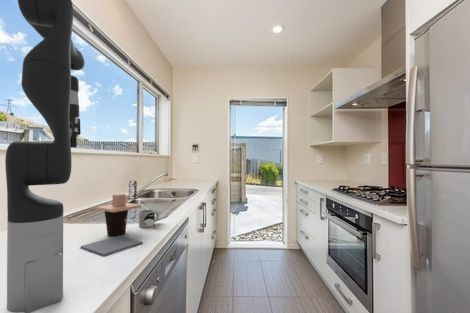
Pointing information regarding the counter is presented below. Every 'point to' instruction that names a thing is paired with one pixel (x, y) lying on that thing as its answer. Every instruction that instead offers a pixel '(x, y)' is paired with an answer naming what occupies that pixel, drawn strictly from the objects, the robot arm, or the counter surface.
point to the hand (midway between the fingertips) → (67, 147)
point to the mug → (147, 218)
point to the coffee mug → (116, 223)
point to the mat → (111, 245)
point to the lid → (118, 204)
